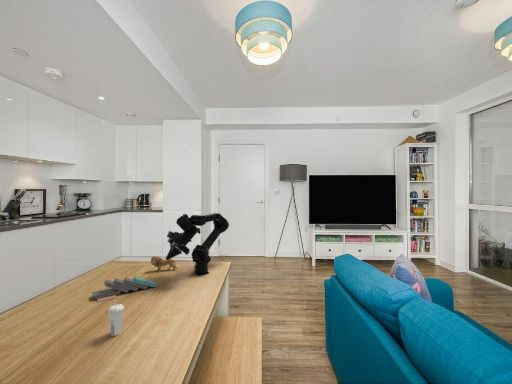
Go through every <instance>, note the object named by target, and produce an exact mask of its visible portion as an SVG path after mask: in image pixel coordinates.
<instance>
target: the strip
mask: <svg viewBox="0 0 512 384" xmlns="http://www.w3.org/2000/svg"><path fill="white" fill-rule="evenodd" d="M115 299H117V295H114V296H109V297H105V298H100V299H96V302H97V303H100V302H106V301H109V300H110V301H111V300H115Z"/></svg>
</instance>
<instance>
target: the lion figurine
mask: <svg viewBox="0 0 512 384" xmlns="http://www.w3.org/2000/svg"><path fill="white" fill-rule="evenodd" d="M150 264H151V265H153V266H154V267H155V268H157V269H156V271H157V272H158V273H160V272H161V268H162V267H165V266H169V268H167V270H171V269H172V268H173V269H172V271H173V272H174V271H176V269H178V267H177V266H176V263H175V261H174V259H173V258H171V259H169V260H166V259H163V258H161V257H159V256H157V255H155V256H154V255H153V256H152V257H151V258H150Z"/></svg>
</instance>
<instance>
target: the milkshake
mask: <svg viewBox="0 0 512 384" xmlns="http://www.w3.org/2000/svg"><path fill="white" fill-rule="evenodd" d="M124 311H125V306H124V305H123V304H122V303H117V304H114V299H111V306H110V307H109V308H107V315H108V324H109V326H108V327H109V335H110V336H111V337H116V336H119V335H121V334H122V331H123V322H124Z"/></svg>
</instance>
